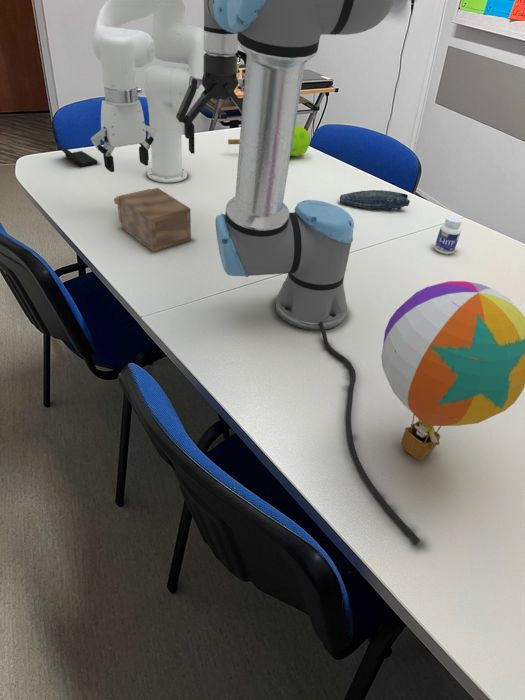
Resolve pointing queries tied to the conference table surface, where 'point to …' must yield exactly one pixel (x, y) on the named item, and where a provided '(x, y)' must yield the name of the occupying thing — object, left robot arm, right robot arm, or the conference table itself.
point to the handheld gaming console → (78, 156)
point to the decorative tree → (298, 145)
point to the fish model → (376, 199)
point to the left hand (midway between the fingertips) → (127, 167)
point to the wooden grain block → (155, 219)
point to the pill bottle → (448, 235)
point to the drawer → (117, 201)
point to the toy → (453, 358)
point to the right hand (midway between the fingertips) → (218, 150)
